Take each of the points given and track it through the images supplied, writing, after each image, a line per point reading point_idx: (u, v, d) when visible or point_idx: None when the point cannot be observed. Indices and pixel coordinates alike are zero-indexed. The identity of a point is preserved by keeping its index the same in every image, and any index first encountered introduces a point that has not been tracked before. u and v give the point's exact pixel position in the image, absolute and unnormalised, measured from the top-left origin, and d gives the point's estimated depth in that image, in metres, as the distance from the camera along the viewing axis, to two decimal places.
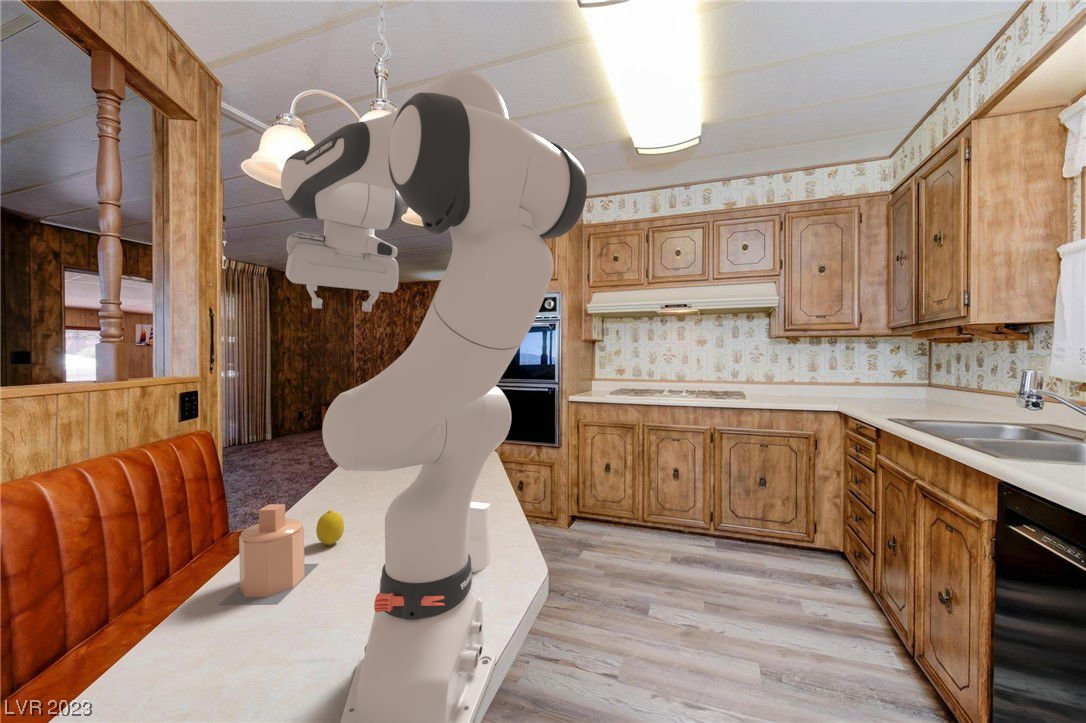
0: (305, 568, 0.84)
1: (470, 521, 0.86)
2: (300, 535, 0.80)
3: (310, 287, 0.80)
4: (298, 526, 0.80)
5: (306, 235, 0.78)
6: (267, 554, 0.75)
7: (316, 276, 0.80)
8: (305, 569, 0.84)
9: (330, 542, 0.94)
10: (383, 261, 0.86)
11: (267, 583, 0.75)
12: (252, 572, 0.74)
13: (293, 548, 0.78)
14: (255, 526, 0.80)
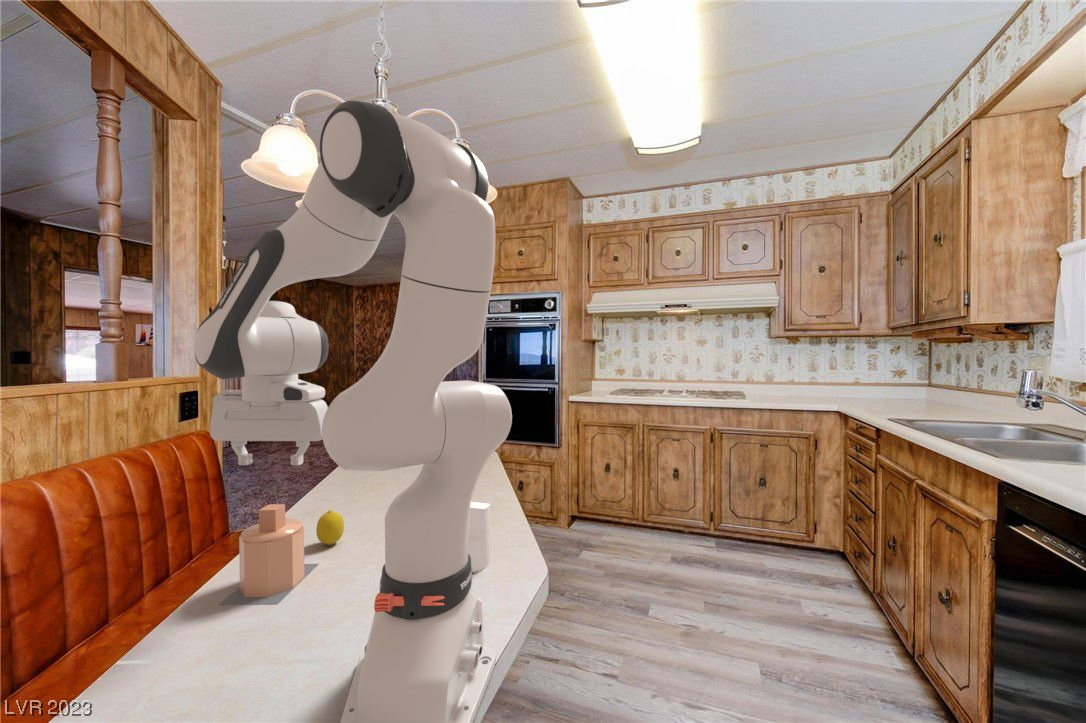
0: (305, 568, 0.84)
1: (470, 521, 0.86)
2: (300, 535, 0.80)
3: (232, 443, 0.78)
4: (298, 526, 0.80)
5: (228, 392, 0.78)
6: (267, 554, 0.75)
7: (233, 431, 0.77)
8: (305, 569, 0.84)
9: (330, 542, 0.94)
10: (297, 407, 0.76)
11: (267, 583, 0.75)
12: (252, 572, 0.74)
13: (293, 548, 0.78)
14: (255, 526, 0.80)
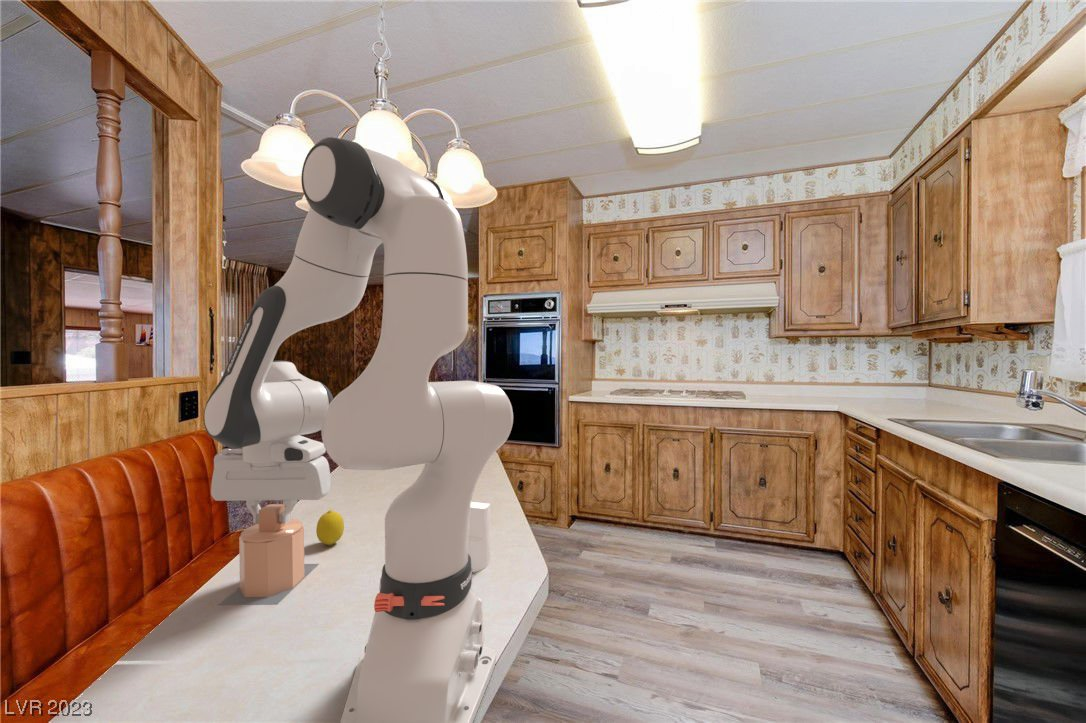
0: (305, 568, 0.84)
1: (470, 521, 0.86)
2: (300, 535, 0.80)
3: (247, 503, 0.78)
4: (298, 526, 0.80)
5: (229, 451, 0.78)
6: (267, 554, 0.75)
7: (234, 491, 0.77)
8: (305, 569, 0.84)
9: (330, 542, 0.94)
10: (298, 467, 0.77)
11: (267, 583, 0.75)
12: (252, 572, 0.74)
13: (293, 548, 0.78)
14: (255, 526, 0.80)
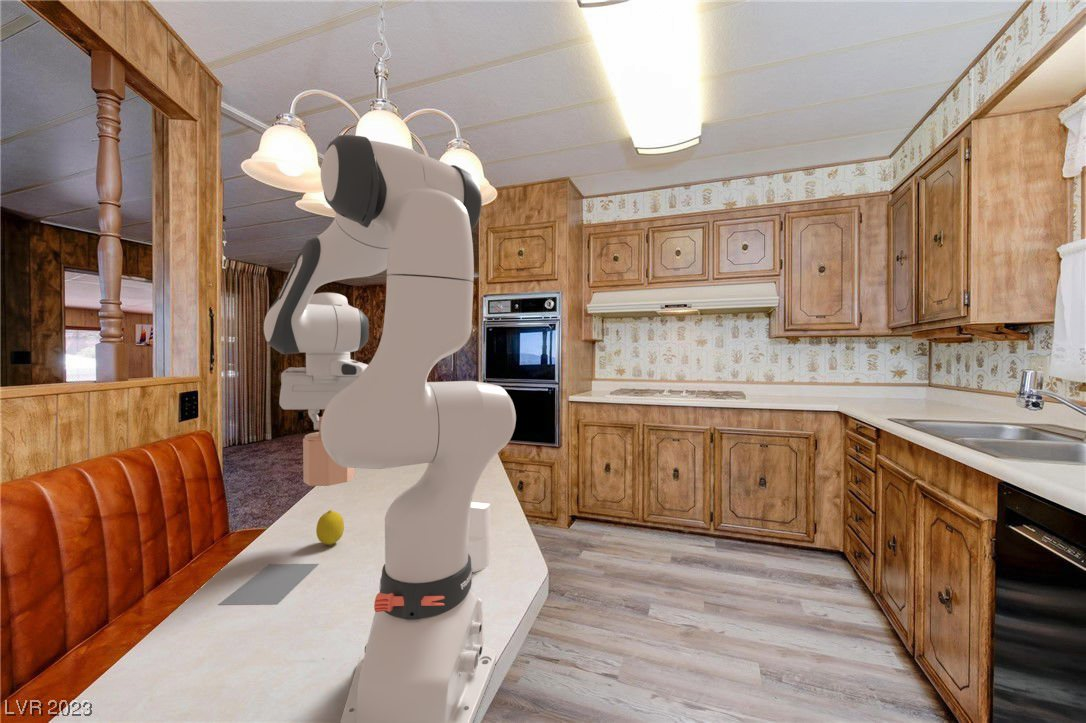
0: (305, 568, 0.84)
1: (470, 521, 0.86)
2: None
3: (309, 411, 0.94)
4: None
5: (293, 369, 0.94)
6: None
7: (299, 401, 0.93)
8: (305, 569, 0.84)
9: (330, 542, 0.94)
10: (352, 381, 0.92)
11: (328, 474, 0.90)
12: (315, 465, 0.90)
13: None
14: (314, 433, 0.96)
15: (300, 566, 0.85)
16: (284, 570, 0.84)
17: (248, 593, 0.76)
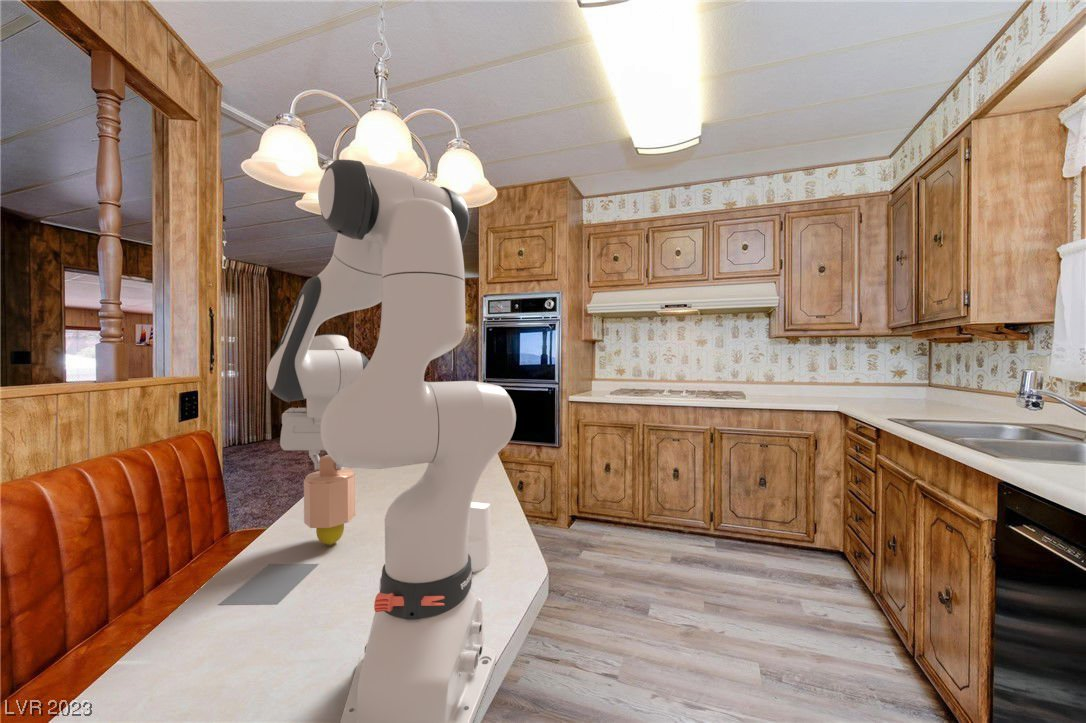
0: (305, 568, 0.84)
1: (470, 521, 0.86)
2: (353, 480, 0.96)
3: (310, 452, 0.94)
4: (351, 473, 0.96)
5: (294, 410, 0.94)
6: (328, 493, 0.91)
7: (299, 442, 0.93)
8: (305, 569, 0.84)
9: (330, 542, 0.94)
10: None
11: (328, 516, 0.91)
12: (316, 507, 0.91)
13: (348, 490, 0.94)
14: (315, 473, 0.96)
15: (300, 566, 0.85)
16: (284, 570, 0.84)
17: (248, 593, 0.76)
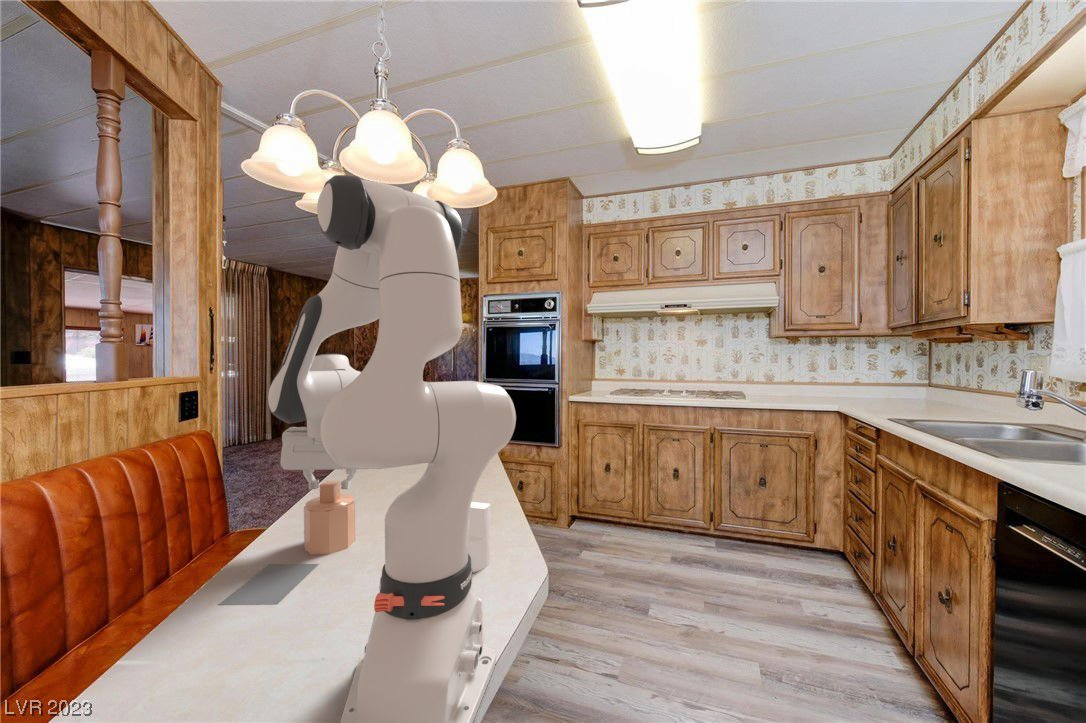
0: (305, 568, 0.84)
1: (470, 521, 0.86)
2: (353, 507, 0.96)
3: (304, 471, 0.94)
4: (351, 499, 0.96)
5: (294, 429, 0.94)
6: (328, 521, 0.91)
7: (300, 462, 0.93)
8: (305, 569, 0.84)
9: None
10: None
11: (328, 544, 0.91)
12: (316, 535, 0.91)
13: (348, 517, 0.94)
14: (315, 499, 0.96)
15: (300, 566, 0.85)
16: (284, 570, 0.84)
17: (248, 593, 0.76)
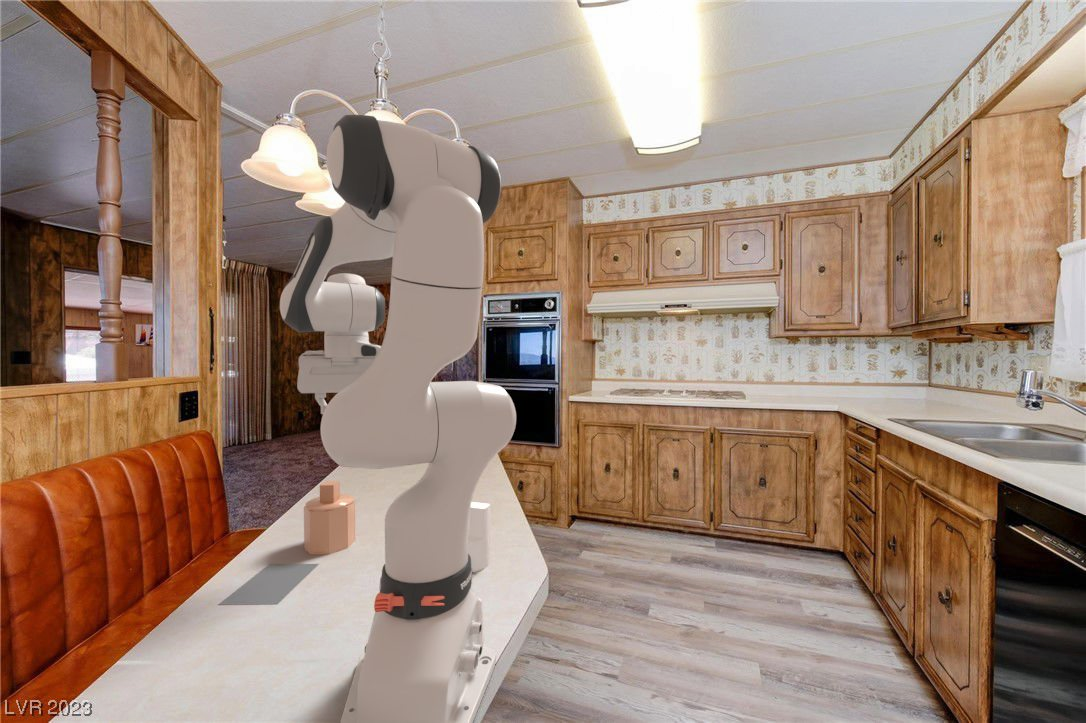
0: (305, 568, 0.84)
1: (470, 521, 0.86)
2: (353, 507, 0.96)
3: (316, 395, 0.92)
4: (351, 499, 0.96)
5: (311, 352, 0.92)
6: (328, 521, 0.91)
7: (317, 384, 0.91)
8: (305, 569, 0.84)
9: None
10: (371, 362, 0.91)
11: (328, 544, 0.91)
12: (316, 535, 0.91)
13: (348, 517, 0.94)
14: (315, 499, 0.96)
15: (300, 566, 0.85)
16: (284, 570, 0.84)
17: (248, 593, 0.76)
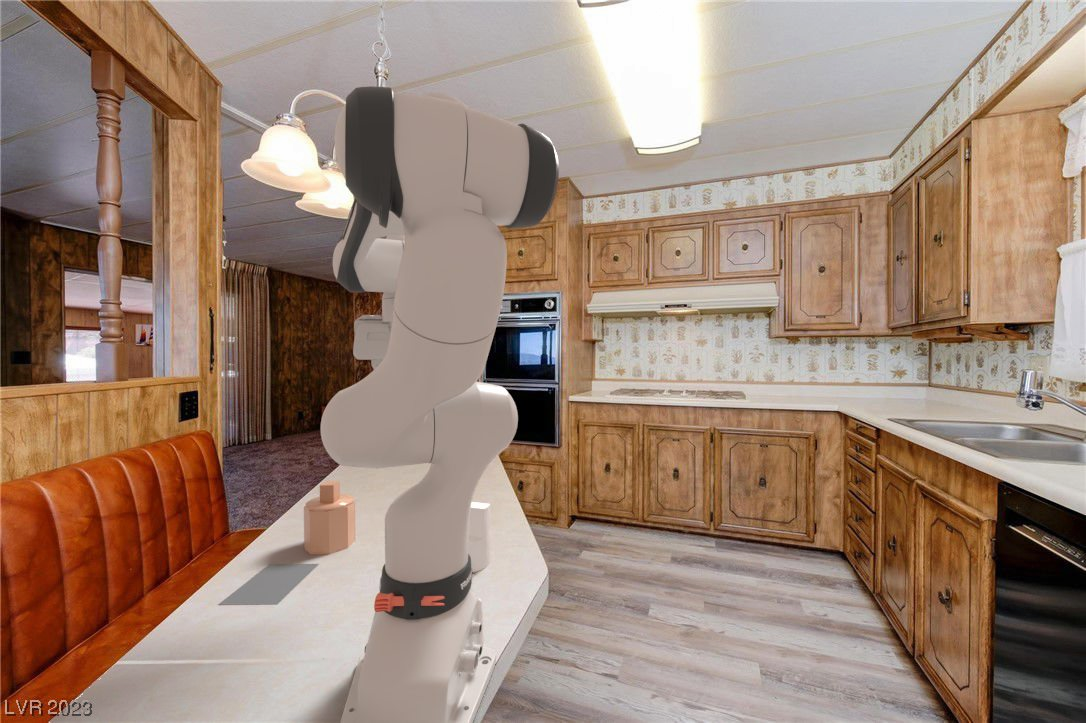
0: (305, 568, 0.84)
1: (470, 521, 0.86)
2: (353, 507, 0.96)
3: (372, 362, 0.87)
4: (351, 499, 0.96)
5: (367, 316, 0.87)
6: (328, 521, 0.91)
7: (374, 350, 0.86)
8: (305, 569, 0.84)
9: None
10: None
11: (328, 544, 0.91)
12: (316, 535, 0.91)
13: (348, 517, 0.94)
14: (315, 499, 0.96)
15: (300, 566, 0.85)
16: (284, 570, 0.84)
17: (248, 593, 0.76)
